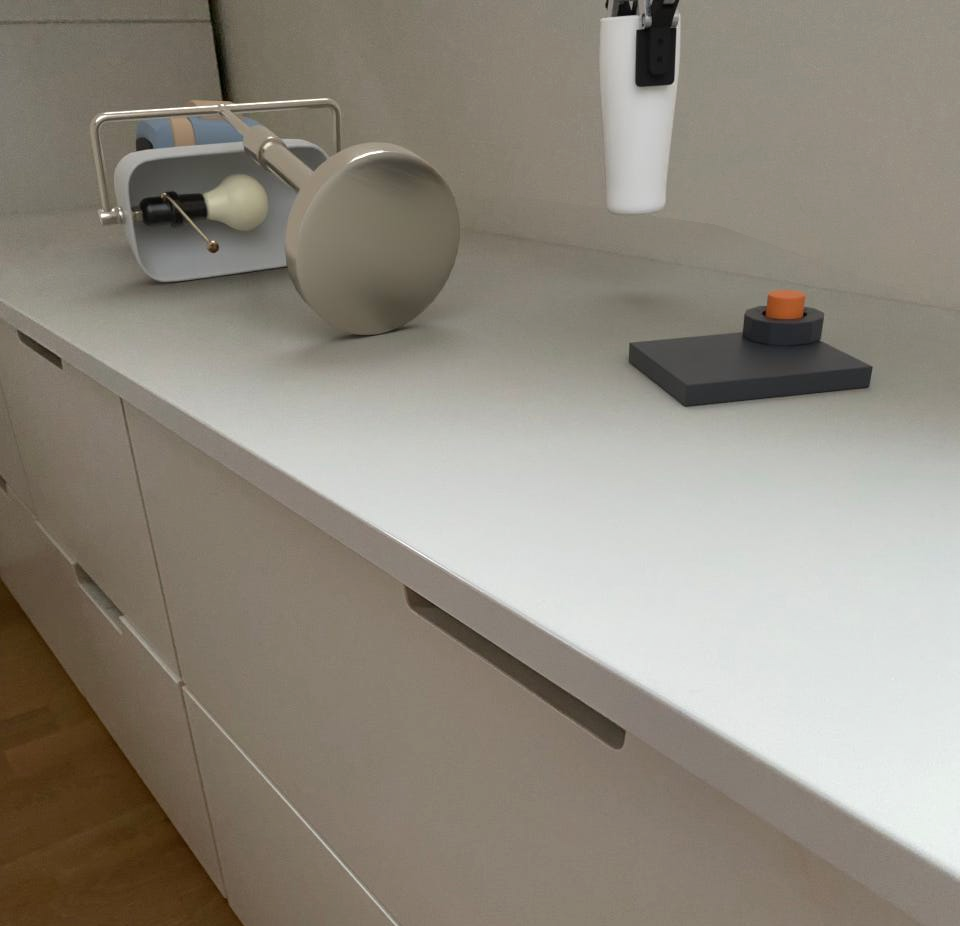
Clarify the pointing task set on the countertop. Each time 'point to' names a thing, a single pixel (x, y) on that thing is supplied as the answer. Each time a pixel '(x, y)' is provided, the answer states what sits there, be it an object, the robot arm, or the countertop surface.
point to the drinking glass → (633, 122)
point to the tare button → (785, 304)
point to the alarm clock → (188, 130)
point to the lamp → (288, 215)
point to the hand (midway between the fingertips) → (638, 83)
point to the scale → (750, 361)
